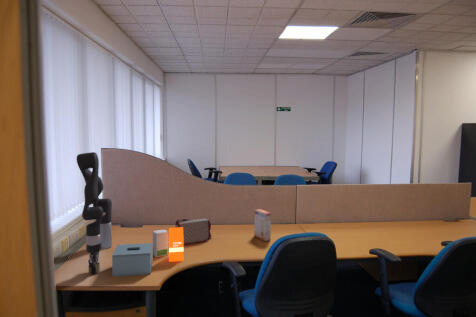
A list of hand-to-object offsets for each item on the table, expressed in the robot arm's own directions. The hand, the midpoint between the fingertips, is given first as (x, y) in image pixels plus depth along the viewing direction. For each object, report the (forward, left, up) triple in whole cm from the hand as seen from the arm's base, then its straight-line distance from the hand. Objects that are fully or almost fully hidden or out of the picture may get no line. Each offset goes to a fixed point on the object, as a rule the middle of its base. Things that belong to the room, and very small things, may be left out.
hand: (94, 272), depth 174 cm
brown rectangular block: (0, 0, 0) cm, 0 cm away
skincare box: (-20, +35, 0) cm, 40 cm away
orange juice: (-12, +45, 0) cm, 47 cm away
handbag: (-43, +58, -1) cm, 72 cm away
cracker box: (-41, +109, 0) cm, 116 cm away
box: (-1, +21, 0) cm, 21 cm away
